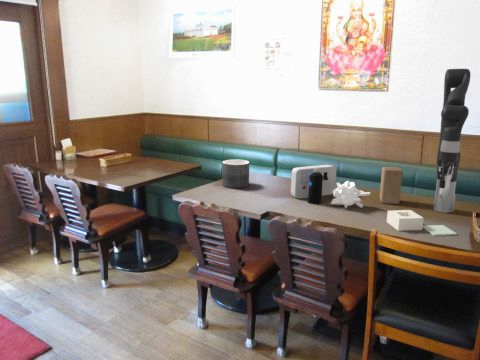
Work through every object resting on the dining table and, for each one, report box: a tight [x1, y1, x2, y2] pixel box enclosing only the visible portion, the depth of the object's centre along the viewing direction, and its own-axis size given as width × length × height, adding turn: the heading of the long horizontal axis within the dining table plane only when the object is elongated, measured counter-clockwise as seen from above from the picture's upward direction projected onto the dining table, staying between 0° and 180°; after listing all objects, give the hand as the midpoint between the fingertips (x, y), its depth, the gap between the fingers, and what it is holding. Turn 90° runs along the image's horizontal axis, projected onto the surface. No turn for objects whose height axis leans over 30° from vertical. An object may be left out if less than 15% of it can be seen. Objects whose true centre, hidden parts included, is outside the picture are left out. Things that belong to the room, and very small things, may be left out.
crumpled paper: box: [330, 180, 371, 209], centre depth 224 cm, size 20×17×15 cm
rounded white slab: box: [290, 164, 337, 199], centre depth 244 cm, size 29×8×18 cm, turn 113°
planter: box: [221, 158, 250, 189], centre depth 267 cm, size 18×18×16 cm
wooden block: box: [378, 166, 404, 205], centre depth 233 cm, size 10×10×20 cm
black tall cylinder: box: [307, 168, 323, 205], centre depth 231 cm, size 8×8×20 cm
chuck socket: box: [386, 209, 424, 232], centre depth 196 cm, size 12×12×6 cm
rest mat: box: [422, 224, 458, 237], centre depth 190 cm, size 11×11×1 cm
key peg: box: [438, 169, 452, 199], centre depth 185 cm, size 4×4×14 cm
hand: (444, 187), depth 185 cm, fingers closed on key peg, 4 cm apart
